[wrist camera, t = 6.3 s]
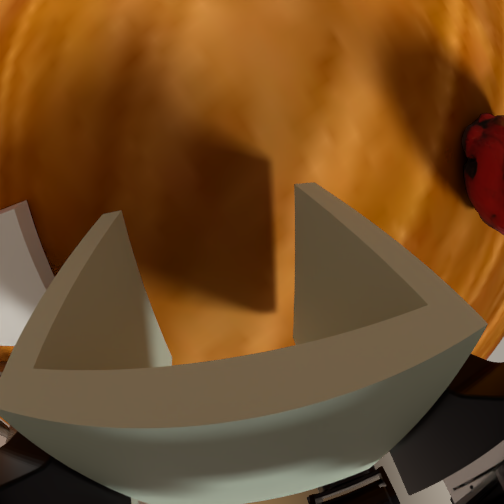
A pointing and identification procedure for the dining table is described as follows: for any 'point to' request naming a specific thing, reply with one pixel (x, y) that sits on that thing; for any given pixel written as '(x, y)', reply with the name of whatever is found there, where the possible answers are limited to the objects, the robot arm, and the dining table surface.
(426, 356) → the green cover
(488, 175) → the red clay folk toy
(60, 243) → the dining table surface
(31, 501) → the robot arm
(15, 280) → the grey ceramic tile
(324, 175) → the dining table surface
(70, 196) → the dining table surface
